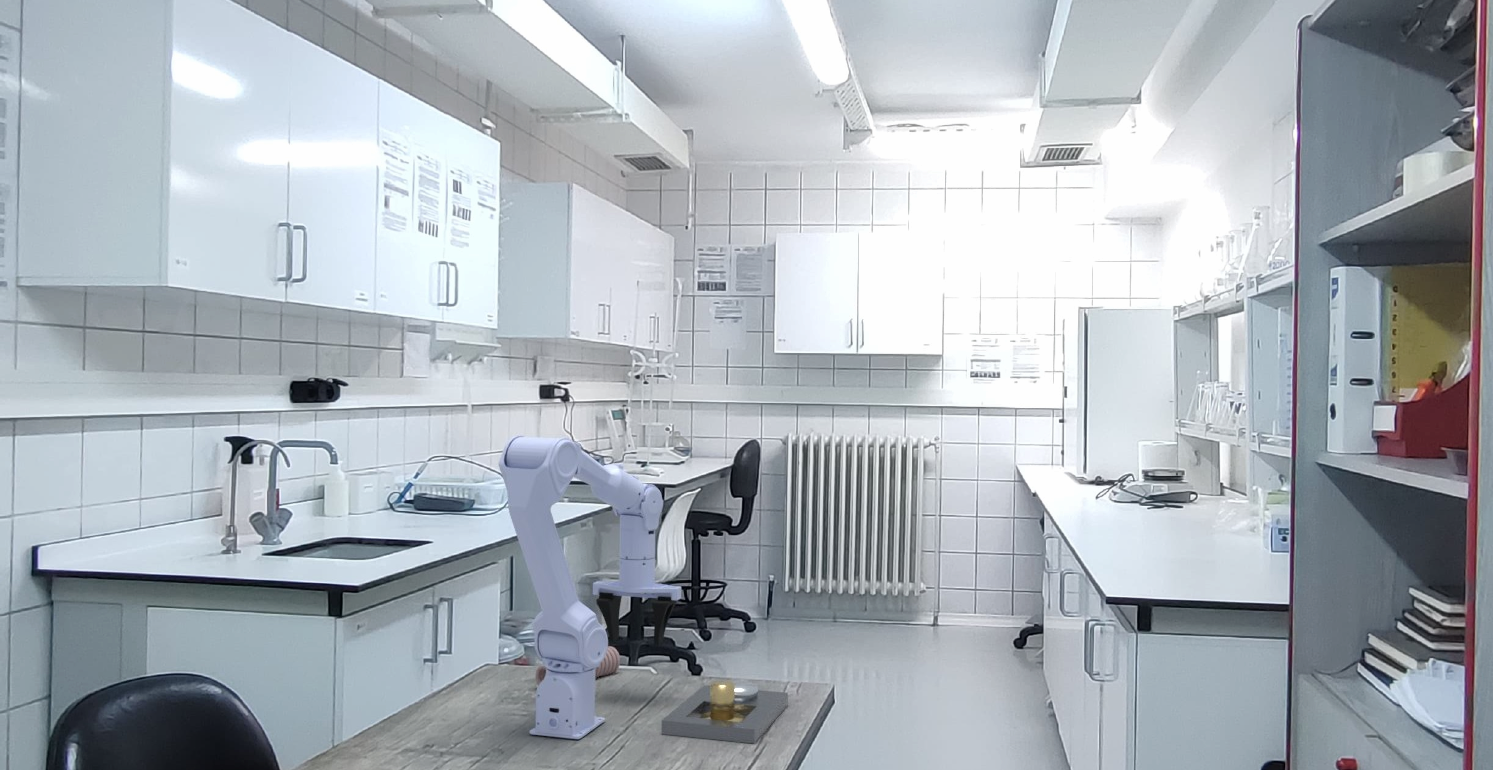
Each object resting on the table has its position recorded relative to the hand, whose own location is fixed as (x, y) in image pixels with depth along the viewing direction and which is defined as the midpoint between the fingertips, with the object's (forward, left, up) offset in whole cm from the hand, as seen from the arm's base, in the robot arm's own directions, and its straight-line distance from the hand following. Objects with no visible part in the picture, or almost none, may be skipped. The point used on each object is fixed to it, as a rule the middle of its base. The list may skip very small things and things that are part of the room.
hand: (636, 642), depth 177 cm
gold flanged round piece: (-8, -17, -10) cm, 21 cm away
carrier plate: (-5, -17, -9) cm, 20 cm away
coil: (+8, +14, -10) cm, 19 cm away
